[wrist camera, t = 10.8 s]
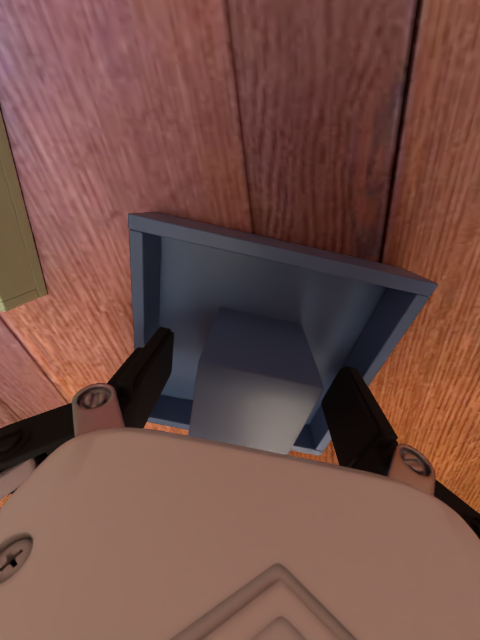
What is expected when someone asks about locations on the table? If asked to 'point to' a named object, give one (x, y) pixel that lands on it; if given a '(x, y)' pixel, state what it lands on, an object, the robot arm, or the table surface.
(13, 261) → the tray
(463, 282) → the table surface
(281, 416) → the block
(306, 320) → the block tray
